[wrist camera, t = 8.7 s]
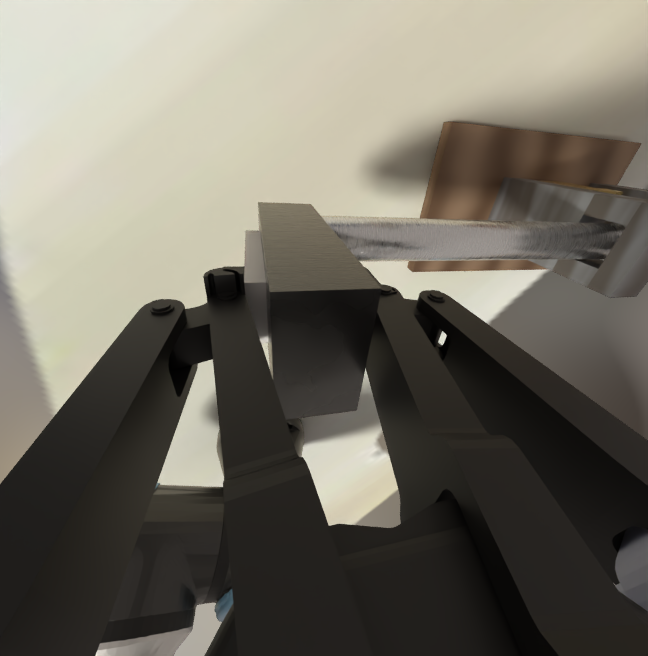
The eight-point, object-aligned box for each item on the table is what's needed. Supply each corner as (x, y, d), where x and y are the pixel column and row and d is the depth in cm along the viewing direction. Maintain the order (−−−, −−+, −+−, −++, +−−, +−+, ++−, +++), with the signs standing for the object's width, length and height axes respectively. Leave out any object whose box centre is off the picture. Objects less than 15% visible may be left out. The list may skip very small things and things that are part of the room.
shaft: (260, 266, 21) (274, 421, 10) (257, 192, 18) (270, 292, 7) (575, 262, 28) (799, 352, 16) (607, 207, 25) (904, 271, 14)
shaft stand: (407, 267, 38) (501, 348, 24) (443, 122, 29) (627, 114, 15) (559, 265, 44) (707, 329, 30) (628, 142, 35) (888, 150, 21)
